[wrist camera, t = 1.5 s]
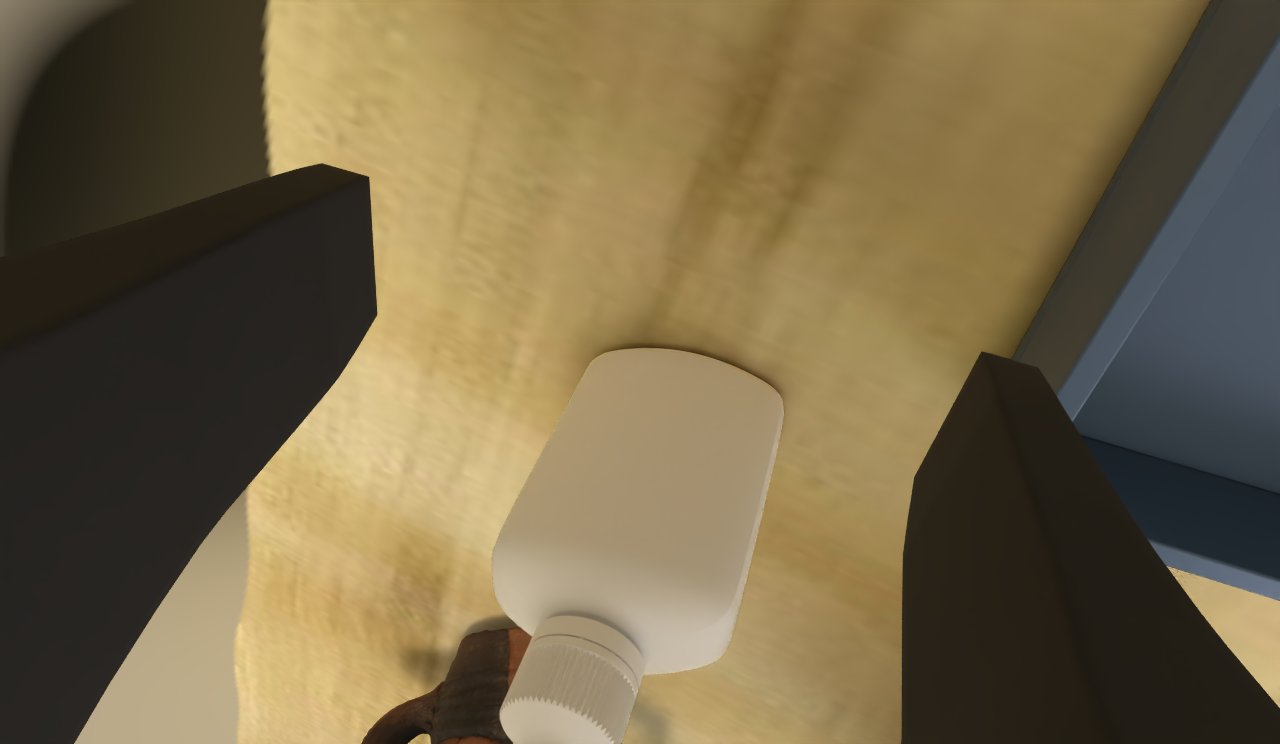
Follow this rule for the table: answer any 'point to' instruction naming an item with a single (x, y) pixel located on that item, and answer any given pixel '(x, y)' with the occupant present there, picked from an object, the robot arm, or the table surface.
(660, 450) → the eye dropper bottle
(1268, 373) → the tray
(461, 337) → the table surface
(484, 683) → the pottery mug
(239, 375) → the robot arm
